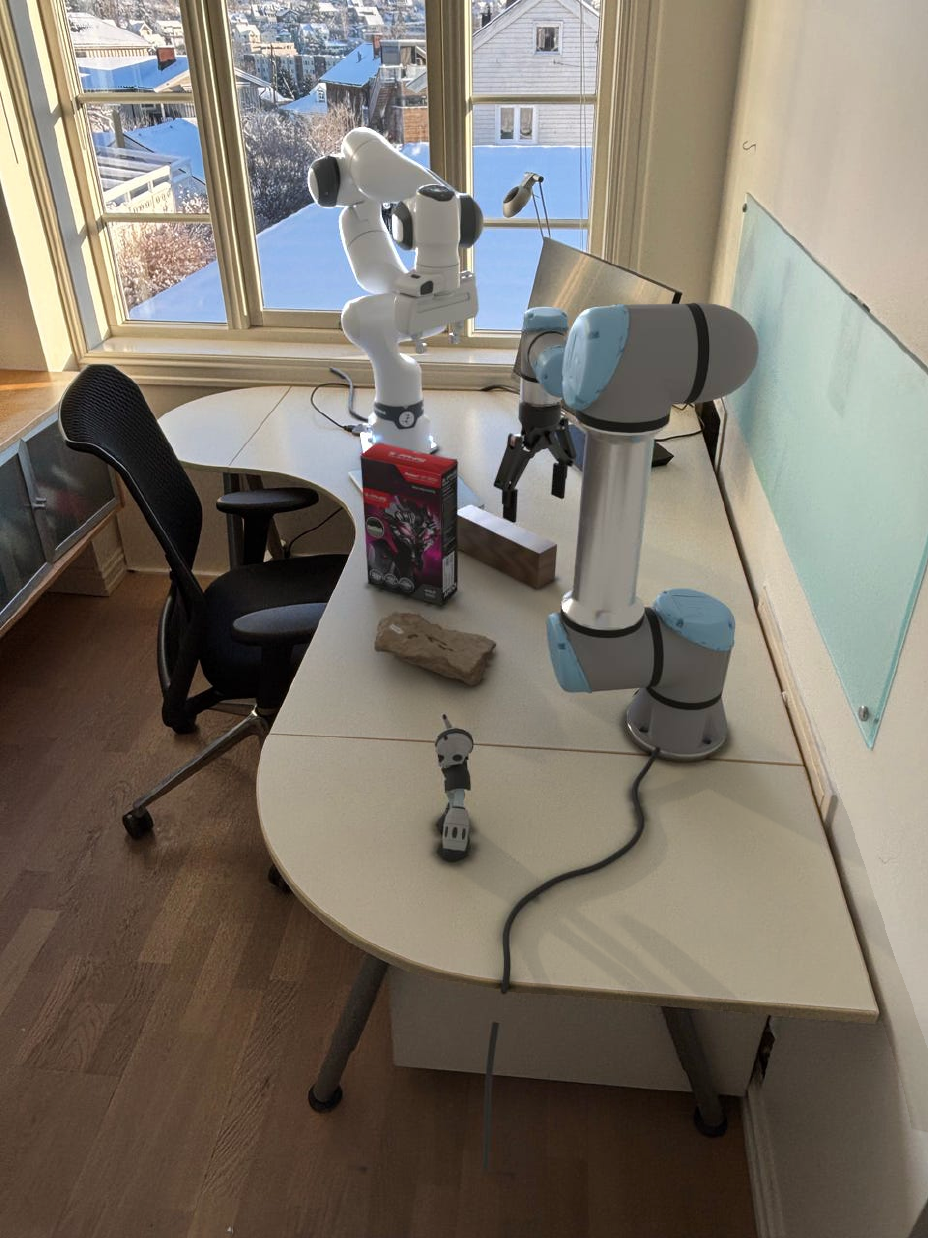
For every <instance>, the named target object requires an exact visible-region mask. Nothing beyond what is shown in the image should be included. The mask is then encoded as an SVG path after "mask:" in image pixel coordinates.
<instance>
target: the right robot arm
mask: <svg viewBox="0 0 928 1238" xmlns="http://www.w3.org/2000/svg"><path fill="white" fill-rule="evenodd" d="M569 329H570V330H569ZM568 331H569V333H568ZM520 332H521V356H520V380H519V398H520V399H519V400H518V413H517V414H518V416H517V417H518V421H519V422H520V426H521V430H520V432H519V433H518V434H514V433H512V432H510V433H509V434H508V435H507V441H506V447H505V450H504V453H503V456H502V459H501V462H500V465H499V468H498V470H497V473H496V476H495V479H494V481H493V487H494V488H496V489H498V490H500V491H501V505H502V519H503V520H506V521H508V522H510V523H512V524H514V523H517V517H518V516H517V515H518V514H517V513H518V495H519V494H518V493H519V490H518V489H517V488H516V487H517V485H518V483H519V482H520V479H521V477H522V475H523V474H524V471H525V470H526V468H527V466H528V464H529V462H530V460H531V459H533V458H534V457H535V456H536V454H537V453H539V452H541V451H542V450H547V451H549V453H550V454H551V455H552V457H553V458H554V460H555V461H556V462H554V463H553V464H552V476H551V491H550V495H551V496H553V497H556V498H558V499H560V500H563V499H565V497H566V496H565V494H566V480H567V478H568V471H569V467H570V468H571V467H573V465H574V460H576V459H577V455H578V454H577V451H576V448H575V444H574V441H573V438H572V435H571V432H570V424H569V423H570V422H569V421H570V420H569V418H568V417H566V416H563V415H562V409H563V408H562V407H563V404H562V403H563V402H562V400H564V402H565V405H566V406H568V408H570V409H573V410H574V419H575V421H576V423H578V424H579V426H580V427H581V428H582V429H583V430H584V431H585V435H584V436H585V437H584V449H583V461H582V462H583V463H582V473H581V474H582V476H581V485H580V486H581V487H580V496H579V497H580V498H579V499H580V500H579V511H578V522H577V523H578V524H577V535H576V536H577V537H576V546H575V547H576V549H575V563H574V575H573V586H572V589H570V590H569V591H568V592H566V593H565V594H564V595H563V596H562V599H561V602H560V612H557V611H554V612H552V613H550V614H548V615H547V619H546V621H545V623H546V625H545V626H546V627H545V628H546V639H547V645H548V651H549V655H550V661H551V665H552V668H553V669H552V670H553V673H554V675H555V678H556V682H557V683H558V685H559V687H560V688H561V689H562V690H563V691H565V692H567V693H571V694H572V693H573V694H575V693H588V694H593V693H594V692H595V693H596V692H597V693H598V692H609V691H621V690H632V689H637V690H636V691H635V692H634V694H633V695H632V696H631V697H632V698H633V699H632V701H631V702H630V704H629V706H628V708H627V711H626V719H625V728H626V732H627V734H628V736H629V738H630V739H631V741H632V742H634V744H636V745H637V746H638V747H639V748H640V749H641V750H643V751H645V752H646V753H648V754H650V756H649V759H648V760H647V761H646V763H645V765H644V767H643V768H642V769H641V771H640V772H639V774H638V775H637V777H636V778H635V780H634V781H633V785H632V788H631V797H632V802H633V805H634V809H635V812H636V815H637V819H638V822H637V828H636V831H635V833H634V834H633V836H632V838H630V840H629V841H628V842H627V843H626V844H625V845H624V846H623V847H622V848H620V849H619V850H617V851H615V852H614V853H613V854H611V855H608V857H606V858H604V859H603V860H601V861H599V862H596V863H593V864H591V865H589V866H588V865H587V866H586V867H582V868H579V869H574V870H572V871H567V872H564V873H562V874H560V875H557V876H554V877H553V878H551V879H549V880H547V881H546V882H544V883H542V884H541V885H539V886H538V887H535V888H534V889H533V890H531V891H530V892H528V893H527V894H526V895H525V896H524V897H522V898H521V899H520V900H519V901H518V902H517V904H515V906H514V907H513V909H512V910H511V912H510V913H509V915H508V917H507V919H506V921H505V924H504V927H503V930H502V953H503V972H502V973H503V975H502V981H501V987H500V994H501V995H507V993H508V992H509V986H510V980H511V968H512V964H511V963H512V961H511V948H510V947H511V946H510V933H511V929H512V926H513V924H514V921H515V919H516V917H517V916H518V914H519V913H520V911H521V910H522V909H523V908H524V907H525V906H526V905H527V904H528V903H529V902H530V901H532V900H533V899H534V898H536V897H537V896H539V895H540V894H542V893H544V892H545V891H547V890H548V889H550V888H552V887H553V886H556V885H557V884H559V883H561V882H564V881H567V880H570V879H573V878H575V877H580V876H583V875H587V874H591V873H593V872H596V871H598V870H601V869H603V868H605V867H607V866H609V865H611V864H612V863H614V862H615V861H616V860H618V859H620V858H621V857H623V856H624V855H625V854H626V853H628V852H629V851H631V849H632V848H634V846H635V845H636V844H637V843H638V842H639V839H640V838H641V836H642V834H643V831H644V828H645V816H644V812H643V809H642V807H641V806H642V805H641V804H640V800H639V795H638V793H639V792H638V791H639V786H640V784H641V782H642V780H644V779H643V778H644V777H645V776H646V774H647V773H648V772H649V770H650V769H651V767H652V766H653V764H654V762H655V761H656V759H657V758H659V759H662V760H666V761H670V762H675V763H694V762H700V761H703V760H706V759H709V758H711V757H714V755H716V754H718V752H720V751H721V750H722V748H723V747H724V744H725V743H726V740H727V739H726V738H727V733H728V721H727V716H726V712H725V708H724V707H725V706H724V701H723V692H724V686H725V682H726V678H727V674H728V669H729V664H730V659H731V654H732V651H733V650H732V649H733V648H734V646H735V632H736V618H735V617H734V614H733V612H732V611H731V609H730V608H729V607H728V606H727V605H726V604H725V603H723V602H722V601H721V600H719V599H718V598H716V597H715V596H712V595H710V594H708V593H706V592H704V591H699V590H696V589H691V588H682V587H680V588H679V587H678V588H677V587H676V588H668V589H665V590H663V591H662V592H660V593H659V594H658V595H657V596H656V598H655V599H654V601H653V606H645V604H644V602H643V601H642V600H641V598H640V597H639V596H638V595H637V594H636V593H637V587H638V577H639V571H640V570H639V569H640V561H641V554H642V544H643V537H644V528H645V520H646V511H647V503H648V497H649V496H648V495H649V487H650V479H651V471H652V463H653V454H654V448H655V439H656V436H657V435H658V434H659V433H661V432H663V430H665V429H666V428H667V427H668V426H669V424H670V420H671V411H672V407H673V405H686V404H687V405H691V404H701V403H707V402H712V401H716V400H718V399H722V398H724V397H726V396H729V395H731V394H733V393H734V392H736V391H737V390H738V389H740V388H741V387H742V386H743V385H745V383H746V382H747V381H748V380H749V378H750V377H751V376H752V374H753V372H754V370H755V368H756V366H757V362H758V359H759V341H758V338H757V334H756V332H755V330H754V328H753V326H752V325H751V324H750V322H749V321H748V320H747V319H746V318H745V317H744V316H743V315H741V314H740V313H739V312H738V311H735V310H733V309H731V308H729V307H727V306H723V305H720V304H716V303H709V302H691V303H647V304H645V303H641V304H638V303H637V304H622V303H616V304H615V303H614V304H613V305H608V306H607V305H606V306H594V307H590V308H587V309H585V310H583V311H582V312H581V313H579V315H578V316H577V318H576V319H575V321H574V323H573V324H572V325H571V328H569V316H568V314H567V312H566V311H565V310H564V309H562V308H558V307H553V306H535V307H532V308H529V309H528V310H526V311H525V312H524V314H523V318H522V328H521V331H520ZM555 434H556V435H555ZM499 1027H500V1022H495V1021H492V1022H491V1028H490V1036H489V1041H488V1042H489V1043H488V1049H487V1058H486V1059H487V1060H486V1068H485V1069H486V1070H485V1082H484V1105H483V1106H484V1107H483V1108H484V1112H483V1153H482V1172H483V1173H485V1174H486V1173H488V1172H489V1167H490V1166H489V1165H490V1150H491V1149H490V1148H491V1114H492V1113H491V1110H492V1107H491V1106H492V1087H493V1086H492V1085H493V1073H494V1063H495V1053H496V1047H497V1040H498V1033H499Z"/></svg>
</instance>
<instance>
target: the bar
mask: <svg viewBox="0 0 928 1238" xmlns="http://www.w3.org/2000/svg"><path fill="white" fill-rule="evenodd" d="M457 531H458V532H457V535H458V537H457V540H458V550H460V551H462V552H463V553H466V554H468V555H470V556H472V557H473V558H475V559H478V560H480V561H481V562H483V563H485V564H487V565H489V566H492V567H494V568H495V569H497V570H499V571H500V572H503V573H505V574H507V575H509V576H511V577H513V578H515V579H517V580H519V581H521V582H522V583H524V584H527V585H529V586H531V587H533V588H534V589H537V590H538V589H539V588H541V587H543V586H545V585H548V583H551V582H552V581H554V580H555V579H556V567H557V566H556V565H557V551H558V544H557V543H555V542H554V541H551V540H549V539H547V538H545V537H543V536H540V535H538V534H536V533H534V532H532V531H529V530H527V529H525V528H523V527H520V526H519V525H517V524H514V523H512V522H510V521H508V520H506V519H504V518H501V517H499V516H497V515H495V514H493V513H490V512H488V511H486V510H484V509H482V508H480V507H477V506H475V505H474V504H468V505H465V506H464V507H461V508H458V509H457Z"/></svg>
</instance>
